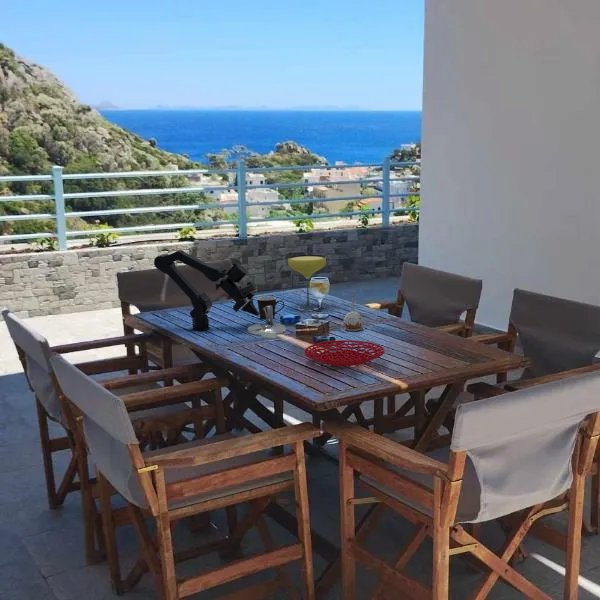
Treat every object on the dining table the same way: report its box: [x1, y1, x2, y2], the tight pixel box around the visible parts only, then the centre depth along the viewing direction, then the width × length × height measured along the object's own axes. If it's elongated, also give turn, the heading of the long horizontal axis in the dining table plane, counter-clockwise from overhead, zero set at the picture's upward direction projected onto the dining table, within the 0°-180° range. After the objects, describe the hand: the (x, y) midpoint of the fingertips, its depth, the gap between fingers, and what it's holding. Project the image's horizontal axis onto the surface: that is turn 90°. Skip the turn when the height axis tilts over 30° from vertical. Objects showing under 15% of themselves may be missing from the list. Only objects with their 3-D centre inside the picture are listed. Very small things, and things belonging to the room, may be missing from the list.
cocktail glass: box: [287, 254, 327, 310], centre depth 391 cm, size 18×18×25 cm
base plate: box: [243, 330, 277, 339], centre depth 346 cm, size 20×20×4 cm
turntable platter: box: [247, 306, 287, 337], centre depth 346 cm, size 16×16×10 cm
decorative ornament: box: [343, 294, 363, 332], centre depth 348 cm, size 8×8×15 cm
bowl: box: [303, 339, 386, 368], centre depth 299 cm, size 29×29×5 cm
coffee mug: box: [256, 296, 285, 320], centre depth 371 cm, size 12×9×10 cm
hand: (258, 314), depth 351 cm, fingers closed
